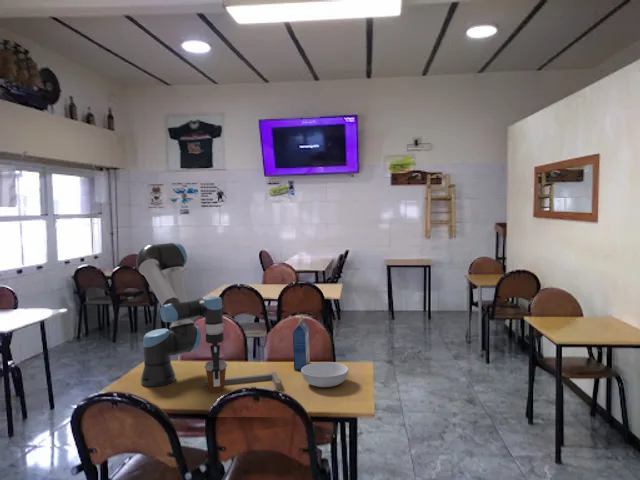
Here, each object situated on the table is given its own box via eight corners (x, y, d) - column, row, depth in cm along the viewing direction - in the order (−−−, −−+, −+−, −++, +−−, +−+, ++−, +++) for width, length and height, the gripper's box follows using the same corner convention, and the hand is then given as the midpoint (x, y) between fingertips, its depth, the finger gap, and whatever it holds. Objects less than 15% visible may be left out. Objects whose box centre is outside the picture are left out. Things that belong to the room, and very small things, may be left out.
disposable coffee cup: (208, 395, 205) (207, 367, 204) (203, 388, 213) (202, 361, 213) (230, 391, 209) (229, 364, 209) (224, 384, 218) (223, 358, 217)
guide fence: (205, 397, 202) (204, 390, 202) (205, 385, 218) (204, 378, 218) (280, 389, 210) (280, 382, 210) (275, 377, 225) (275, 371, 225)
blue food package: (293, 370, 235) (292, 319, 234) (297, 362, 247) (296, 314, 245) (306, 370, 234) (305, 319, 233) (310, 362, 246) (308, 314, 245)
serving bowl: (345, 393, 203) (345, 377, 203) (296, 391, 207) (296, 375, 207) (351, 376, 224) (351, 362, 223) (307, 375, 228) (306, 360, 227)
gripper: (224, 338, 199) (226, 389, 200) (222, 325, 223) (224, 371, 224) (205, 340, 197) (207, 391, 198) (205, 327, 221) (207, 372, 222)
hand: (216, 380), depth 211 cm, fingers open, 13 cm apart
